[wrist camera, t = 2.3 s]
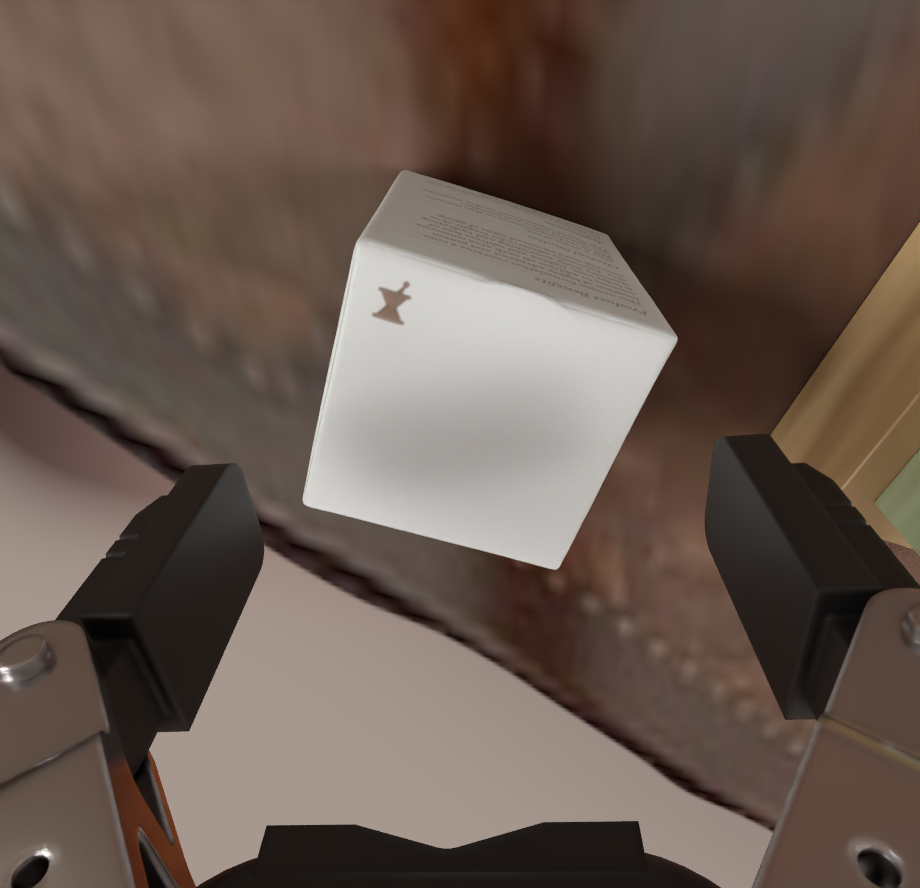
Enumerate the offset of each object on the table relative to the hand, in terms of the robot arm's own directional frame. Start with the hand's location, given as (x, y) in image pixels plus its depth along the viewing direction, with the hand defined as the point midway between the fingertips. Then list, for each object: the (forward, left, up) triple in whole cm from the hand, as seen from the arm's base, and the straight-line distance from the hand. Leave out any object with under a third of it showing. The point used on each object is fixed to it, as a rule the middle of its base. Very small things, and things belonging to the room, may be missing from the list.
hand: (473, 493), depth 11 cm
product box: (0, 0, -9) cm, 9 cm away
